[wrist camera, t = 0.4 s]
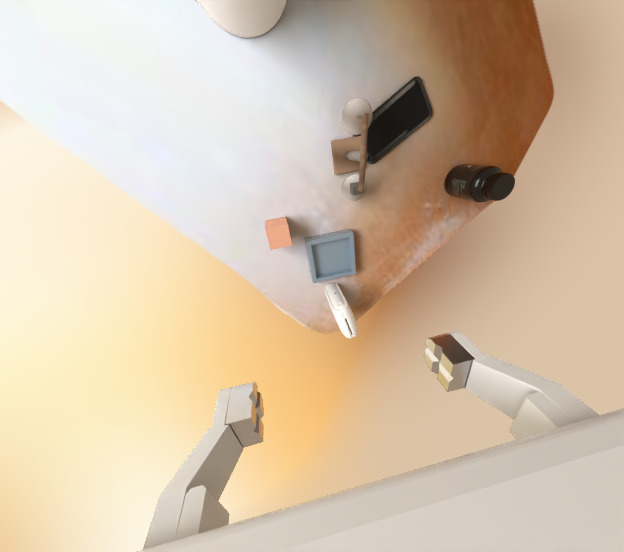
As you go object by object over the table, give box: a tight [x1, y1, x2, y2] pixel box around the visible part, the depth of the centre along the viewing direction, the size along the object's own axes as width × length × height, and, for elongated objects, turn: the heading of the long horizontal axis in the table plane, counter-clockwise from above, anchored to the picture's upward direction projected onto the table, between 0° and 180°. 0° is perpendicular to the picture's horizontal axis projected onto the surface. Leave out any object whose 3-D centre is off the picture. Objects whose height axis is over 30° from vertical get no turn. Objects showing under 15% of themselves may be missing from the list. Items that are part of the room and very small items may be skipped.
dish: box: [304, 229, 356, 283], centre depth 56 cm, size 11×11×2 cm
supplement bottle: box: [445, 164, 515, 202], centre depth 48 cm, size 7×7×12 cm
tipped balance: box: [331, 98, 372, 201], centre depth 42 cm, size 17×6×11 cm, turn 9°
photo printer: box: [325, 283, 358, 338], centre depth 58 cm, size 10×4×12 cm, turn 21°
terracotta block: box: [265, 217, 292, 250], centre depth 49 cm, size 4×4×6 cm
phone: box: [353, 76, 432, 164], centre depth 46 cm, size 8×1×15 cm
